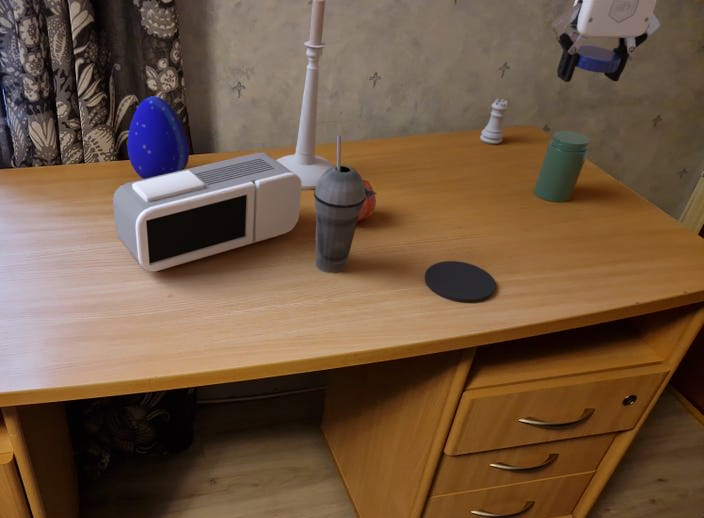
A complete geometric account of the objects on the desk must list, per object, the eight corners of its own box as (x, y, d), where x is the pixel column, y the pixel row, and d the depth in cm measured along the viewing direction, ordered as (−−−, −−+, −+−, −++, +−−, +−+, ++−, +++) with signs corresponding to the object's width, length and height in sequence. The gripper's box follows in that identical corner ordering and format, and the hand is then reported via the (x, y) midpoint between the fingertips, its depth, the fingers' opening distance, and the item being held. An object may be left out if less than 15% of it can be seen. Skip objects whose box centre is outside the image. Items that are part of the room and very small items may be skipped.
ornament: (197, 180, 124) (196, 97, 114) (162, 198, 119) (157, 112, 109) (154, 163, 129) (149, 82, 119) (119, 179, 124) (111, 96, 114)
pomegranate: (320, 230, 115) (355, 218, 106) (312, 187, 114) (347, 172, 105) (355, 225, 118) (392, 213, 109) (348, 183, 118) (385, 167, 109)
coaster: (479, 263, 104) (480, 259, 103) (505, 301, 96) (506, 298, 96) (416, 265, 103) (416, 261, 103) (436, 304, 95) (437, 300, 95)
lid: (558, 57, 105) (563, 46, 103) (595, 55, 106) (600, 44, 105) (589, 74, 100) (594, 62, 99) (627, 72, 102) (632, 60, 100)
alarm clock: (142, 282, 99) (136, 208, 91) (117, 252, 105) (110, 181, 97) (297, 236, 109) (304, 166, 101) (267, 211, 115) (271, 144, 107)
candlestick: (316, 154, 133) (333, -17, 113) (351, 182, 124) (376, 1, 104) (257, 165, 129) (265, -10, 109) (289, 194, 120) (303, 9, 100)
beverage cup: (342, 283, 99) (361, 152, 86) (298, 268, 102) (310, 140, 89) (362, 260, 104) (383, 133, 91) (319, 247, 107) (334, 122, 94)
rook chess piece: (505, 140, 139) (516, 101, 134) (496, 146, 136) (507, 107, 131) (485, 134, 141) (495, 95, 136) (475, 140, 139) (485, 101, 133)
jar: (554, 183, 124) (574, 127, 118) (578, 199, 120) (600, 142, 113) (525, 188, 123) (543, 132, 116) (549, 204, 118) (569, 147, 111)
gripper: (585, -49, 90) (542, 88, 101) (710, -50, 91) (654, 86, 102) (560, -60, 95) (522, 71, 107) (678, -60, 96) (628, 70, 108)
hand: (587, 77), depth 105 cm, fingers closed on lid, 6 cm apart
